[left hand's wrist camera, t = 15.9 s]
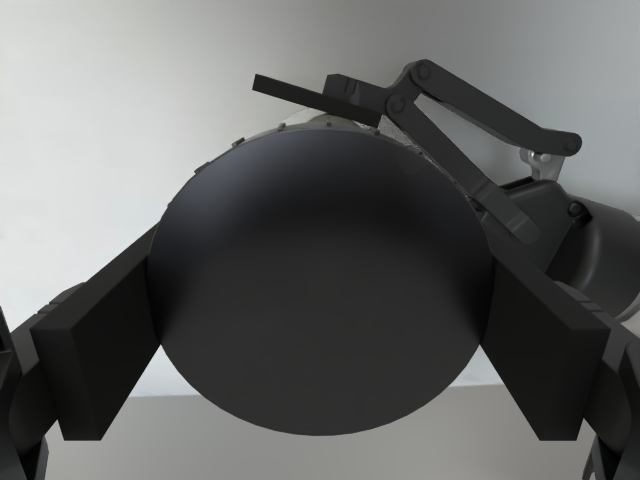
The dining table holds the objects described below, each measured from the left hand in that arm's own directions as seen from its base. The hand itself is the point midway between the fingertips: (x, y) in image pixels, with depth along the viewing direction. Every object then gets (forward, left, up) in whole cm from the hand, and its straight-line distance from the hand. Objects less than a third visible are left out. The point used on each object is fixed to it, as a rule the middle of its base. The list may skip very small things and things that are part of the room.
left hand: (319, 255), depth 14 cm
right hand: (-5, 0, -9) cm, 10 cm away
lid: (0, 0, +3) cm, 3 cm away
